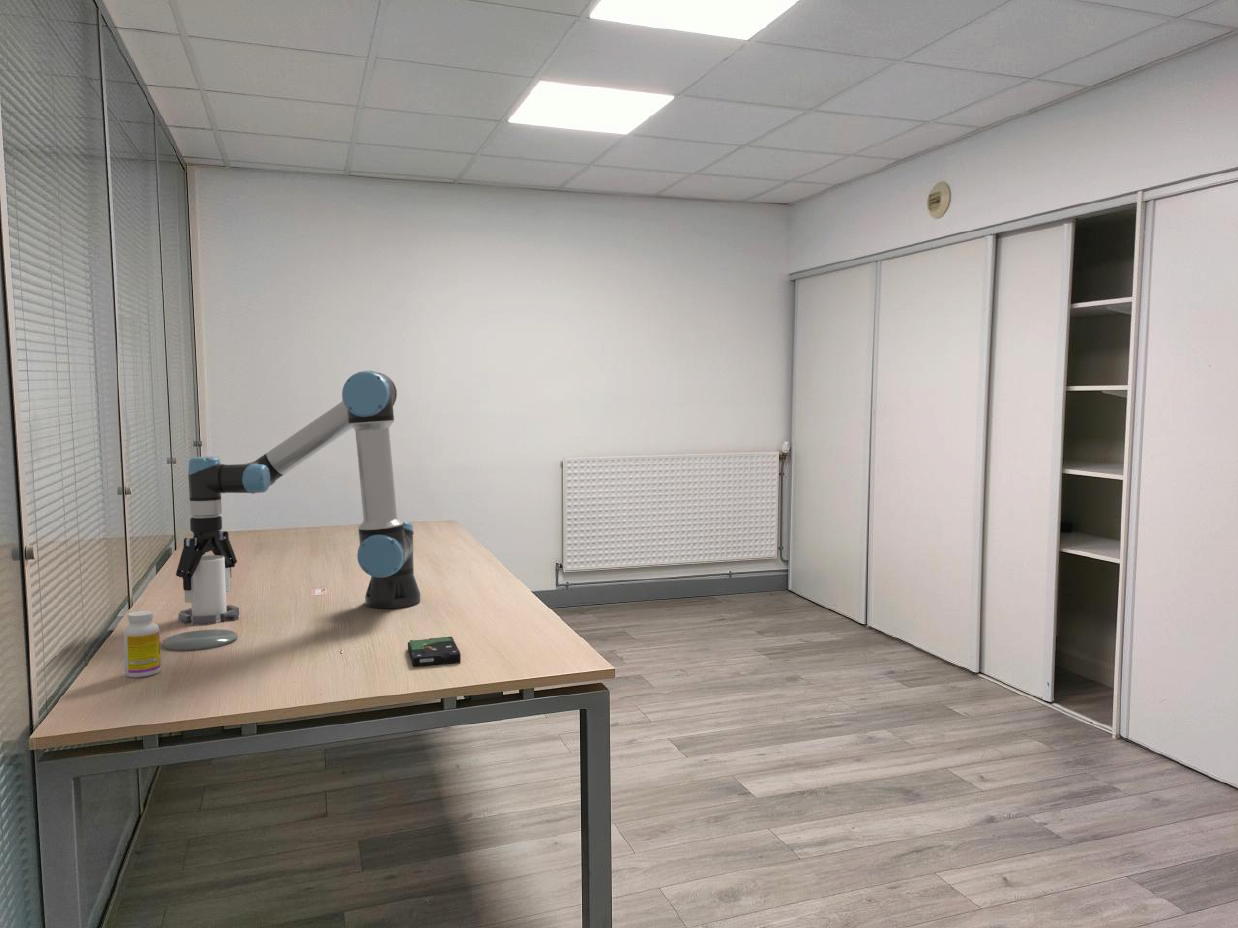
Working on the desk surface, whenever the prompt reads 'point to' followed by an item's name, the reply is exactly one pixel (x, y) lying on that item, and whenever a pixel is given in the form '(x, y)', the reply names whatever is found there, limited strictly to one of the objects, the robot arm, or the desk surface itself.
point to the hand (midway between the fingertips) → (208, 597)
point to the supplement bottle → (141, 645)
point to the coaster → (199, 640)
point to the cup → (210, 587)
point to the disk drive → (433, 652)
